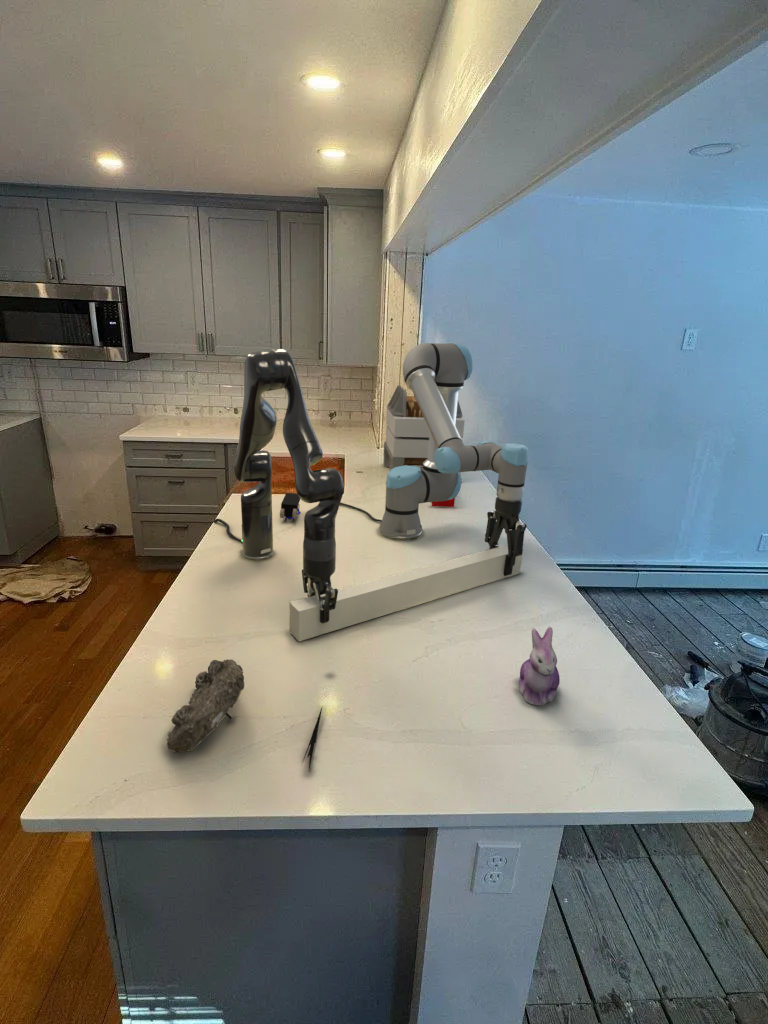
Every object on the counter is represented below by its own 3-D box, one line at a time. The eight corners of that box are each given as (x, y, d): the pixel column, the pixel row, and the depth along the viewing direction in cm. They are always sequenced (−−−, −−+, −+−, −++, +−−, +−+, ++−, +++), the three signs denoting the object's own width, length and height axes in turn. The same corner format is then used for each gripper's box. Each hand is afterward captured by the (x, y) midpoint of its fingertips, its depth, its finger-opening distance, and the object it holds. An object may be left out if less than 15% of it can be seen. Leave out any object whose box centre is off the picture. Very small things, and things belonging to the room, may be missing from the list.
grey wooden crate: (382, 463, 289) (386, 382, 275) (445, 464, 293) (451, 384, 279) (390, 482, 257) (394, 392, 243) (460, 483, 261) (468, 394, 247)
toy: (449, 465, 254) (460, 474, 224) (447, 494, 256) (458, 508, 227) (422, 464, 253) (429, 474, 224) (421, 494, 256) (428, 507, 227)
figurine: (537, 713, 113) (548, 649, 108) (505, 684, 121) (513, 623, 116) (572, 701, 117) (584, 638, 112) (538, 673, 125) (548, 613, 120)
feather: (331, 679, 122) (336, 673, 122) (307, 777, 96) (313, 769, 95) (324, 675, 122) (329, 669, 121) (298, 772, 95) (304, 764, 95)
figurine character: (298, 528, 204) (302, 509, 218) (297, 509, 201) (302, 491, 214) (279, 527, 204) (285, 509, 217) (278, 508, 201) (284, 491, 214)
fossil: (192, 660, 117) (244, 628, 112) (224, 691, 120) (276, 661, 115) (142, 746, 98) (202, 712, 93) (182, 779, 101) (242, 748, 96)
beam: (508, 567, 178) (511, 543, 175) (520, 573, 174) (523, 549, 171) (289, 631, 137) (289, 602, 134) (298, 641, 133) (298, 611, 130)
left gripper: (291, 544, 135) (291, 607, 141) (319, 568, 124) (319, 635, 130) (319, 539, 139) (318, 600, 145) (349, 561, 128) (347, 626, 134)
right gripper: (477, 490, 169) (469, 561, 177) (524, 509, 154) (514, 585, 162) (495, 487, 173) (487, 556, 181) (543, 505, 158) (532, 579, 166)
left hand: (318, 616), depth 137 cm, fingers closed on beam, 5 cm apart
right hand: (499, 570), depth 171 cm, fingers open, 6 cm apart
